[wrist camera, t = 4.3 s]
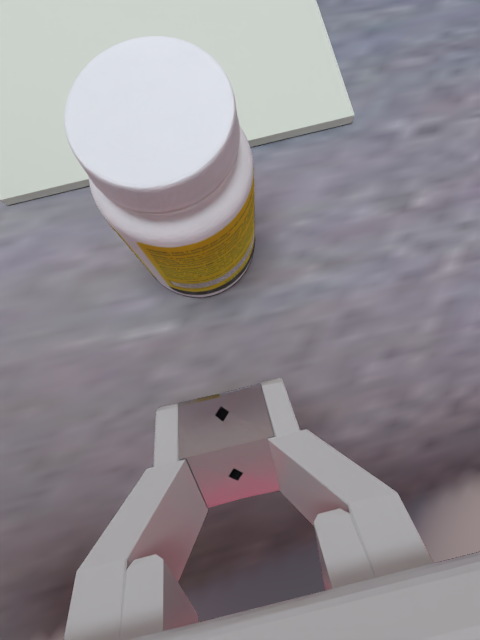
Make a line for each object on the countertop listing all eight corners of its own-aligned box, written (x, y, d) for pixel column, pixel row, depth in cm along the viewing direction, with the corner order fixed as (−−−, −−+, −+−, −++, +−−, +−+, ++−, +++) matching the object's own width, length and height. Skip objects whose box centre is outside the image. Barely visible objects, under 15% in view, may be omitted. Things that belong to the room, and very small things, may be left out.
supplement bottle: (276, 232, 17) (296, 83, 9) (212, 320, 17) (171, 247, 8) (187, 176, 18) (129, -12, 10) (122, 258, 17) (2, 134, 9)
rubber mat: (6, 205, 18) (-1, 200, 17) (-24, -9, 20) (-31, -19, 20) (352, 122, 18) (354, 115, 18) (284, -81, 20) (285, -92, 20)
